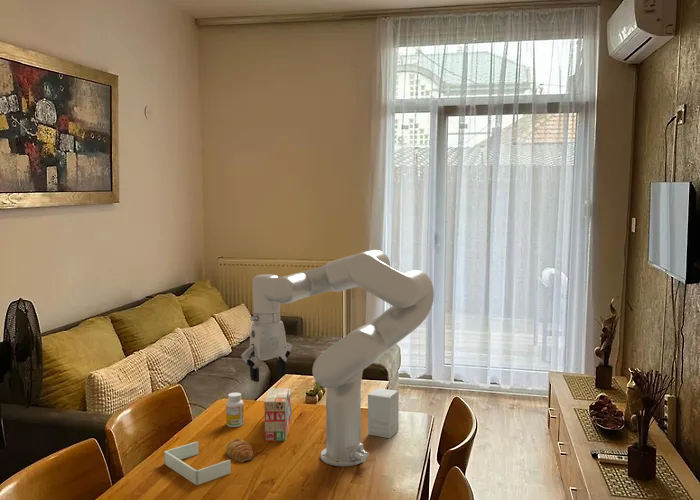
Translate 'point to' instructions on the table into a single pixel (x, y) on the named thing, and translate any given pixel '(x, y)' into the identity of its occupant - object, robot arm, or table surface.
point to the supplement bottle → (234, 410)
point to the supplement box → (383, 413)
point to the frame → (195, 476)
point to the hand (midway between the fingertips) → (268, 377)
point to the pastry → (239, 450)
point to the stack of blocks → (277, 414)
